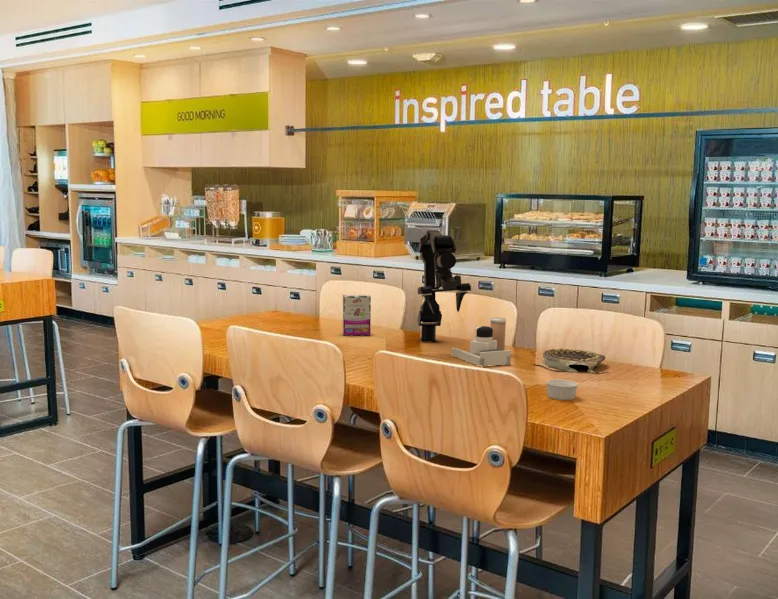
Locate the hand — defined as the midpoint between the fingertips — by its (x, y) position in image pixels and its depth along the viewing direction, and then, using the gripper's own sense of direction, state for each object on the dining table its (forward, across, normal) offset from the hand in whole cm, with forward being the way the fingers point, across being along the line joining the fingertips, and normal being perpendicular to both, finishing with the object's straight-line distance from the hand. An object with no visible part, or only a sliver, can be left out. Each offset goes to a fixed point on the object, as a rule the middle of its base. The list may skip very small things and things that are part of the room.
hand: (446, 312), depth 286 cm
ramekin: (+25, +14, -62) cm, 68 cm away
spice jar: (+17, +18, 0) cm, 25 cm away
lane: (+17, +8, -11) cm, 22 cm away
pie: (+22, +38, -22) cm, 49 cm away
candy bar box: (+8, -26, +43) cm, 51 cm away
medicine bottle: (+18, +8, -12) cm, 23 cm away
